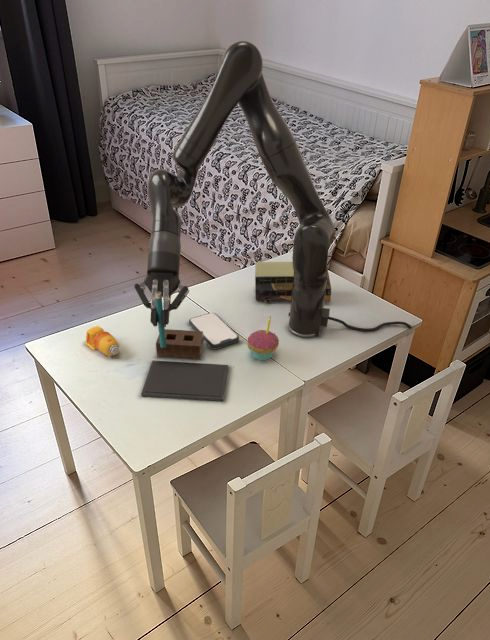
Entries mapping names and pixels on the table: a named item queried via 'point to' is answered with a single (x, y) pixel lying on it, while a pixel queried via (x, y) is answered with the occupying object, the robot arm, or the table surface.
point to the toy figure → (101, 341)
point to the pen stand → (181, 344)
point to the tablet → (185, 380)
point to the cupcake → (263, 343)
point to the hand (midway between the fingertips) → (159, 325)
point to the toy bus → (277, 282)
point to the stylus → (160, 319)
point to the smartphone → (214, 330)
